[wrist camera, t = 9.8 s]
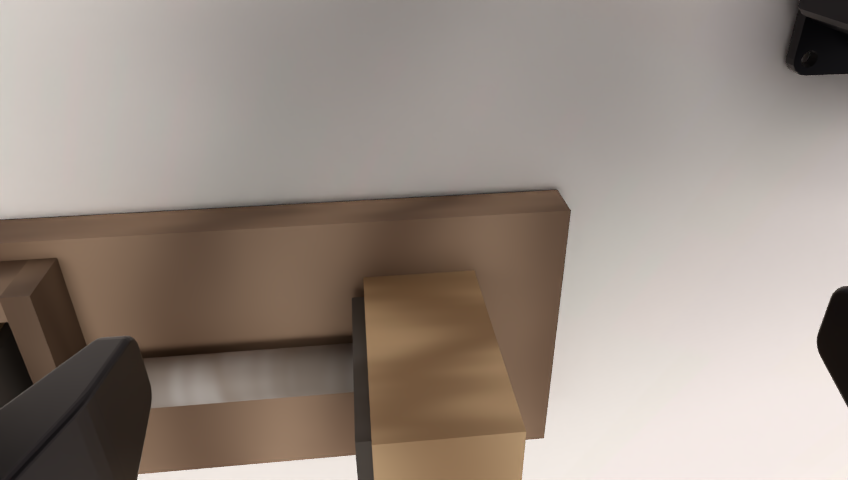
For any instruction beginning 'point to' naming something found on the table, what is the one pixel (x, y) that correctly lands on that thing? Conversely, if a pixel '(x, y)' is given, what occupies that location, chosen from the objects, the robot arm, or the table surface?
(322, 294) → the rail
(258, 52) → the table surface
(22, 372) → the tan wooden block
